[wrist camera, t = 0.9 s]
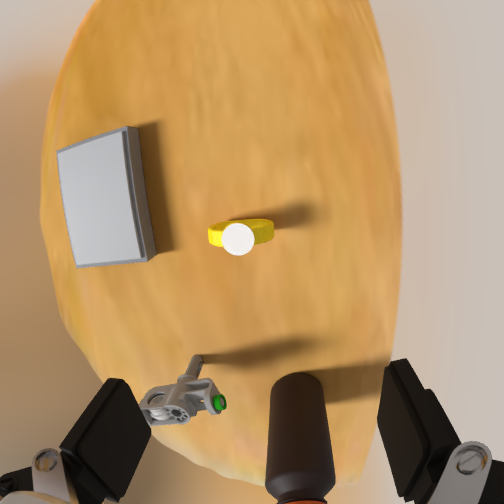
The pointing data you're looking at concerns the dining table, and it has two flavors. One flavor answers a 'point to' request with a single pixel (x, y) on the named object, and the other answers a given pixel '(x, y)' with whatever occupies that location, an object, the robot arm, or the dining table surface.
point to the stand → (106, 199)
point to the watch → (241, 234)
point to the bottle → (299, 442)
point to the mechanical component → (182, 398)
